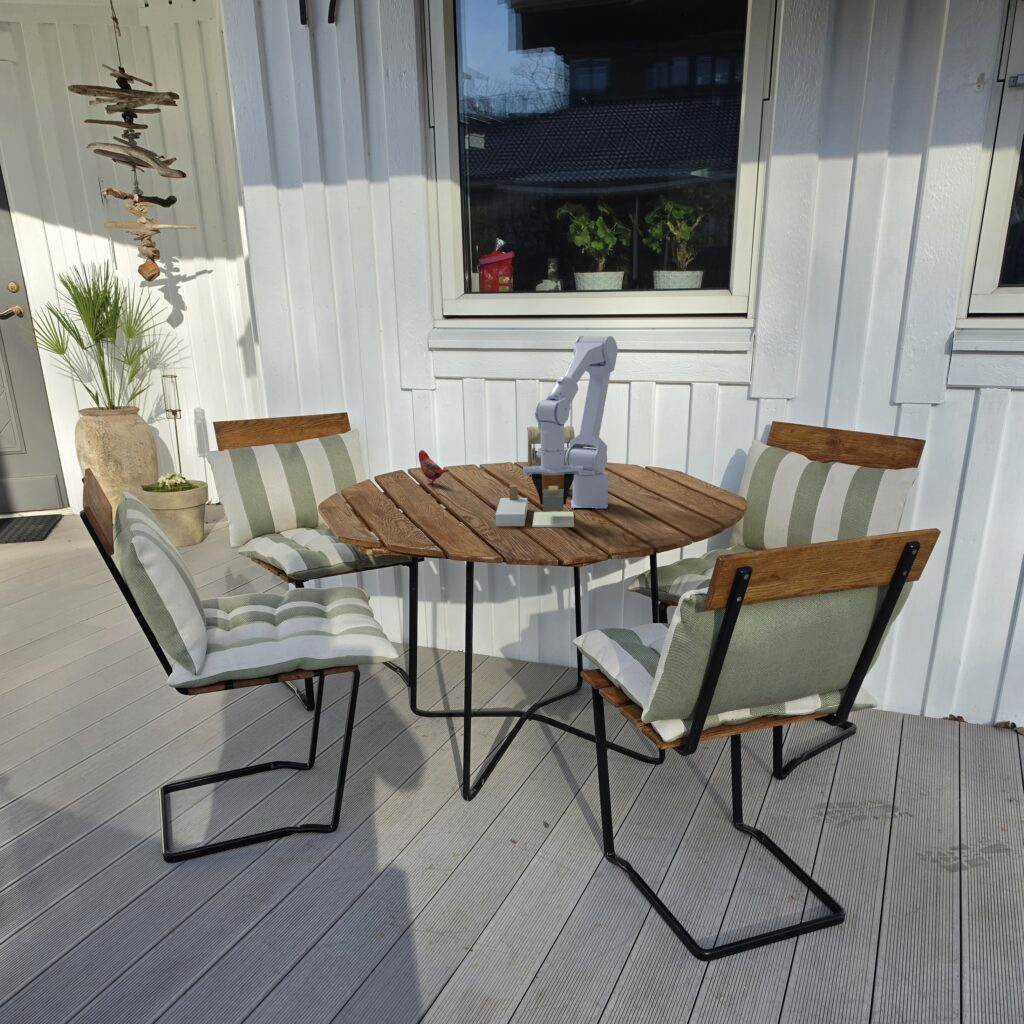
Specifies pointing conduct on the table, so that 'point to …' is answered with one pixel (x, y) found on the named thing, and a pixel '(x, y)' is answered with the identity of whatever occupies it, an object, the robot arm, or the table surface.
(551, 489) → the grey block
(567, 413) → the robot arm
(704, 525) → the table surface
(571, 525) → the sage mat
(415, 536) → the table surface
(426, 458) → the decorative bird figurine
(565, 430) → the swing bench
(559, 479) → the disposable coffee cup
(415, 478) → the table surface
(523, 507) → the white rectangular block
